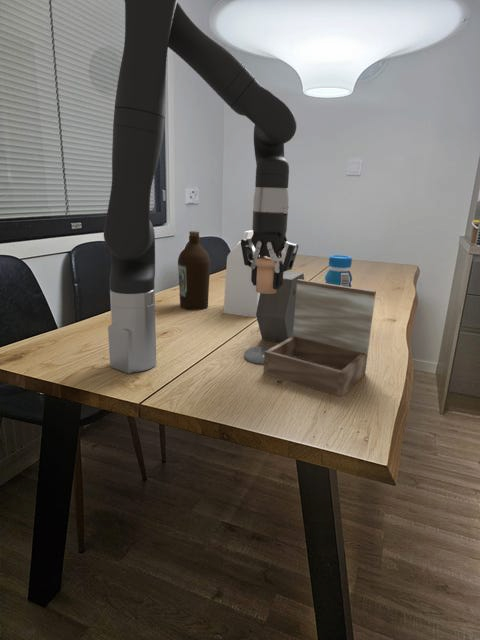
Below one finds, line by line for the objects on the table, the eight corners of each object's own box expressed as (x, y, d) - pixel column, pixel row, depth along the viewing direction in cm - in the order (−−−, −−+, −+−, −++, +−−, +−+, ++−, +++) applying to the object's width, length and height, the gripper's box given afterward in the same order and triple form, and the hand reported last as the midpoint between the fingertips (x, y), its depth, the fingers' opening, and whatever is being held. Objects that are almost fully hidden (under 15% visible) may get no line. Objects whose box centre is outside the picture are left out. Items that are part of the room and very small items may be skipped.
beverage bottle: (318, 321, 132) (324, 257, 126) (323, 314, 139) (328, 253, 134) (346, 324, 129) (353, 259, 123) (349, 317, 137) (356, 255, 131)
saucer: (269, 367, 95) (269, 364, 95) (236, 357, 100) (236, 354, 100) (288, 355, 102) (288, 352, 102) (256, 347, 107) (257, 344, 107)
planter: (283, 307, 127) (273, 254, 112) (308, 311, 124) (301, 257, 109) (264, 351, 118) (251, 299, 103) (291, 356, 115) (281, 303, 100)
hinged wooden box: (341, 396, 83) (352, 304, 77) (263, 373, 92) (267, 289, 87) (365, 373, 94) (376, 291, 89) (293, 354, 104) (299, 279, 98)
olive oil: (203, 301, 149) (204, 230, 142) (214, 309, 140) (215, 233, 133) (174, 304, 145) (173, 230, 138) (183, 312, 136) (183, 233, 129)
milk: (257, 317, 133) (261, 233, 126) (223, 312, 137) (225, 231, 129) (267, 308, 144) (272, 231, 137) (236, 304, 148) (238, 228, 140)
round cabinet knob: (270, 295, 93) (272, 261, 91) (248, 291, 96) (250, 258, 94) (283, 291, 97) (285, 258, 95) (262, 287, 100) (263, 255, 98)
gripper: (233, 208, 92) (231, 285, 97) (291, 212, 84) (286, 294, 89) (252, 208, 98) (249, 280, 103) (308, 211, 90) (302, 289, 95)
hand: (266, 286), depth 96 cm, fingers closed on round cabinet knob, 4 cm apart
